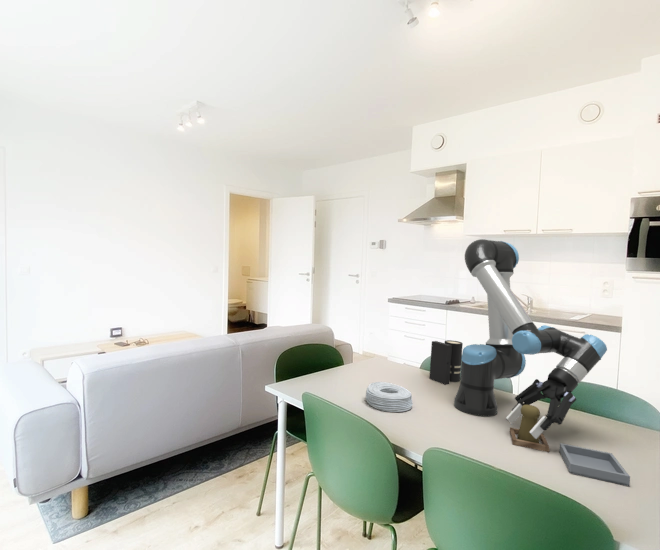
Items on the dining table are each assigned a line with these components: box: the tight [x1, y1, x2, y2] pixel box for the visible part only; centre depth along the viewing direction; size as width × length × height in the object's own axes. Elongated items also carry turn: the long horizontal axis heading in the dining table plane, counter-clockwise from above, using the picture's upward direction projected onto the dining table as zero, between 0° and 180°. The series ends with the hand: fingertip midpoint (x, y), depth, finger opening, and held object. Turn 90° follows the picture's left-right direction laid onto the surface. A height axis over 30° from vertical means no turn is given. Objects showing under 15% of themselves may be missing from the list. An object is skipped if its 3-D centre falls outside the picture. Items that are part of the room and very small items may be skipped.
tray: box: [558, 442, 631, 487], centre depth 98 cm, size 13×13×2 cm
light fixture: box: [428, 339, 463, 386], centre depth 171 cm, size 10×14×18 cm
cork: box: [516, 404, 541, 444], centre depth 112 cm, size 6×6×11 cm
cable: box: [365, 381, 414, 413], centre depth 136 cm, size 18×18×6 cm
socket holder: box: [509, 427, 550, 453], centre depth 112 cm, size 10×10×2 cm
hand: (520, 428), depth 111 cm, fingers open, 9 cm apart
